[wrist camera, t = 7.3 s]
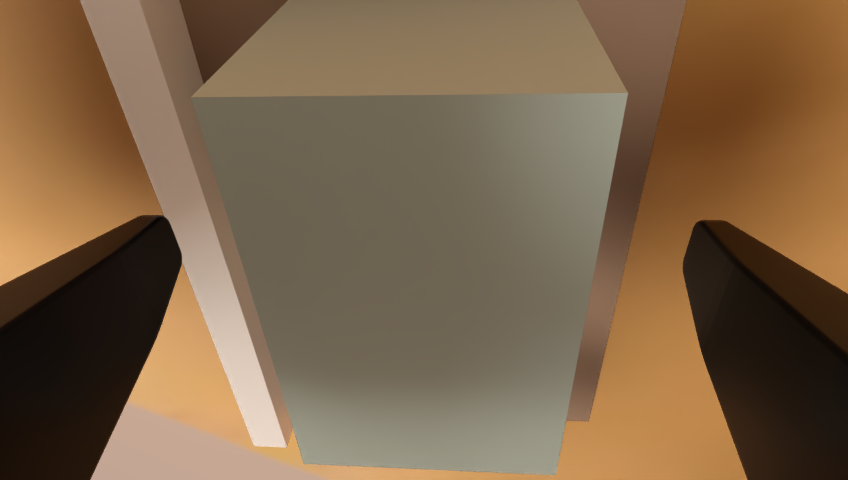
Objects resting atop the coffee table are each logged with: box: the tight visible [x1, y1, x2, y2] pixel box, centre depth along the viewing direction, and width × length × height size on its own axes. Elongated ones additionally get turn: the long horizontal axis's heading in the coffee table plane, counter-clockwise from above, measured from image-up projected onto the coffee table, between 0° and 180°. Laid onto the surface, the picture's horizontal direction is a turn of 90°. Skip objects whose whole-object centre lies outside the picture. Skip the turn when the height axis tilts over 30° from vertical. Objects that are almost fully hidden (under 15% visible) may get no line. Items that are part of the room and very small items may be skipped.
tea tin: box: [191, 0, 628, 475], centre depth 10 cm, size 5×7×5 cm, turn 2°
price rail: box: [80, 0, 293, 447], centre depth 12 cm, size 18×1×2 cm, turn 2°
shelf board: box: [179, 0, 686, 421], centre depth 12 cm, size 18×10×1 cm, turn 2°
